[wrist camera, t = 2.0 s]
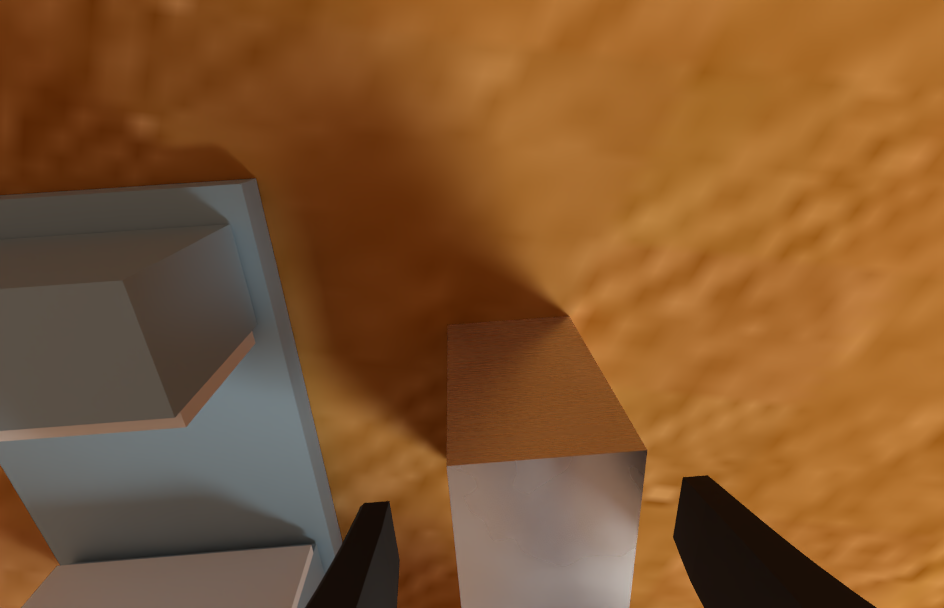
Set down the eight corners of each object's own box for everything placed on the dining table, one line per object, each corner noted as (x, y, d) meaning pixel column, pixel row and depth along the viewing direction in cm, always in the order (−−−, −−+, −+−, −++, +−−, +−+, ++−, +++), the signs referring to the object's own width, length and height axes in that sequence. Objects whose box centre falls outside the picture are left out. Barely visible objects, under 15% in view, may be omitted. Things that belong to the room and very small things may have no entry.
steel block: (564, 458, 17) (625, 640, 11) (460, 466, 17) (466, 654, 11) (568, 315, 15) (647, 450, 9) (447, 324, 15) (446, 466, 9)
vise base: (363, 631, 21) (336, 799, 16) (140, 650, 21) (40, 826, 16) (255, 178, 13) (130, 223, 8) (-108, 202, 13) (-477, 264, 8)
